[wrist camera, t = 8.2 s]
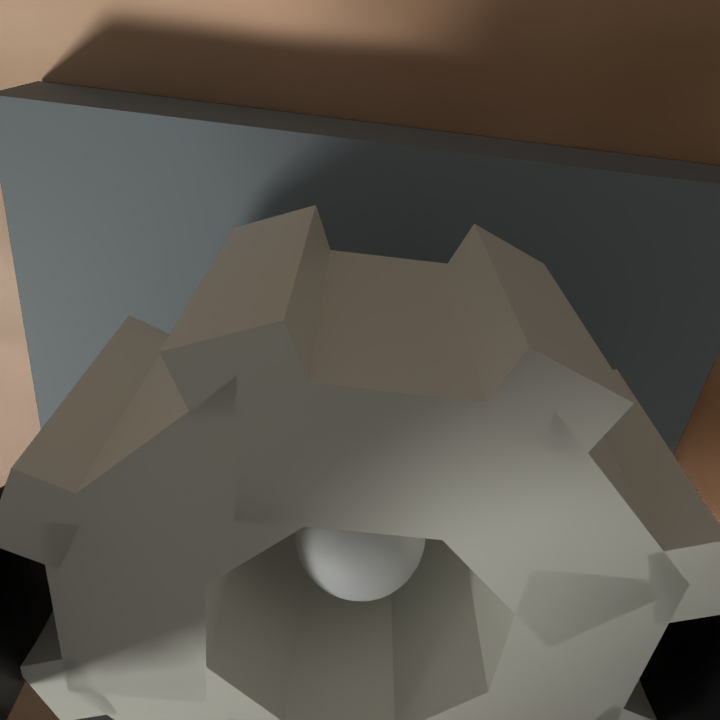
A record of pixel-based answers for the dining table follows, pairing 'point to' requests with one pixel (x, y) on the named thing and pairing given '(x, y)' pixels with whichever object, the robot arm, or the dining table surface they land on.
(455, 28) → the dining table surface
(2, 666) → the robot arm
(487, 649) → the loose gear
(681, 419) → the gear board
